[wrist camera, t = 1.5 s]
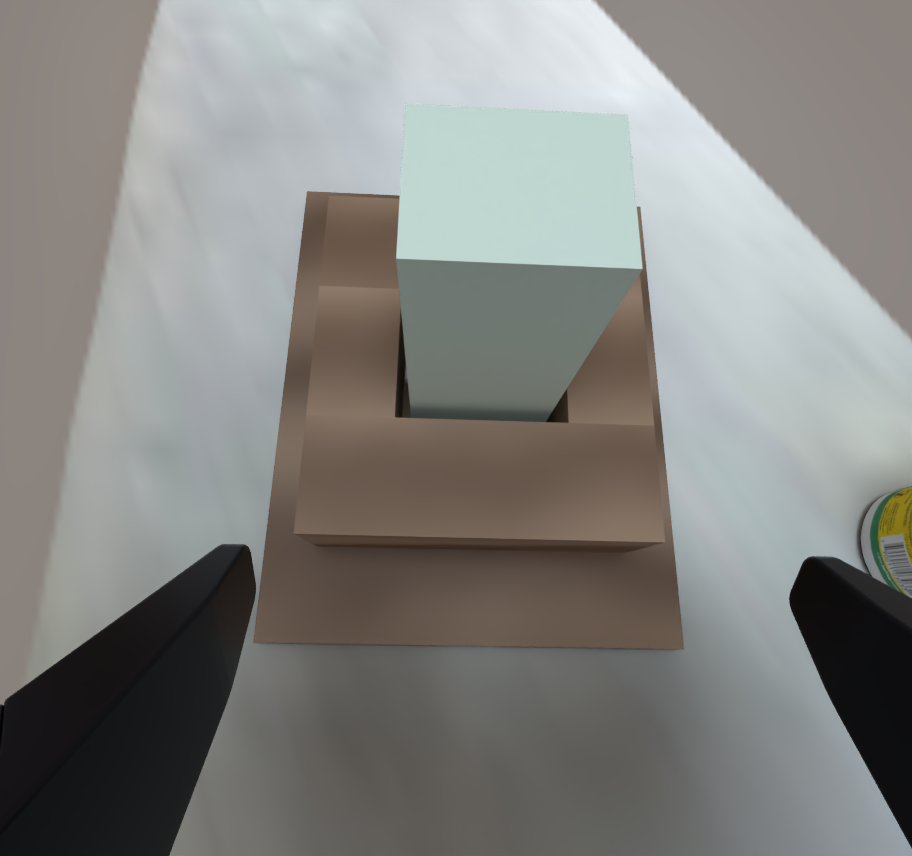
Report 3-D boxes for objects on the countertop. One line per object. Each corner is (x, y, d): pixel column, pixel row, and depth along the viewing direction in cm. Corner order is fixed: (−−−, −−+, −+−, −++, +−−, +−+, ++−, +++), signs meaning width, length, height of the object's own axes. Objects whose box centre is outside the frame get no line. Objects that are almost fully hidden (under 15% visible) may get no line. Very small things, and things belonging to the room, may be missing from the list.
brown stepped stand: (677, 648, 22) (739, 658, 17) (258, 641, 21) (213, 650, 17) (635, 215, 28) (674, 141, 23) (309, 200, 27) (286, 121, 23)
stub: (533, 440, 23) (642, 269, 11) (409, 436, 23) (388, 258, 11) (531, 349, 24) (627, 109, 13) (413, 345, 24) (398, 97, 12)
